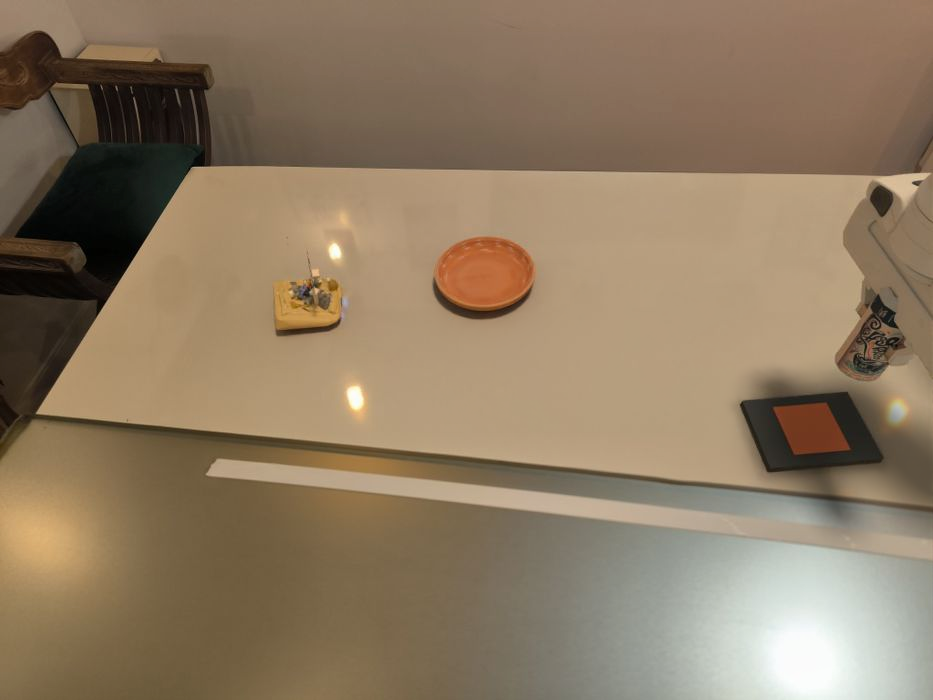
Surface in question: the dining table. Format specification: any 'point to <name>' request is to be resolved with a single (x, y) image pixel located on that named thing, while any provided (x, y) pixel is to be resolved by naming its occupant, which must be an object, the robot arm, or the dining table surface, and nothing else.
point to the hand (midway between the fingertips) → (878, 337)
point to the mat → (810, 431)
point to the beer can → (871, 339)
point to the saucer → (484, 273)
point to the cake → (307, 302)
